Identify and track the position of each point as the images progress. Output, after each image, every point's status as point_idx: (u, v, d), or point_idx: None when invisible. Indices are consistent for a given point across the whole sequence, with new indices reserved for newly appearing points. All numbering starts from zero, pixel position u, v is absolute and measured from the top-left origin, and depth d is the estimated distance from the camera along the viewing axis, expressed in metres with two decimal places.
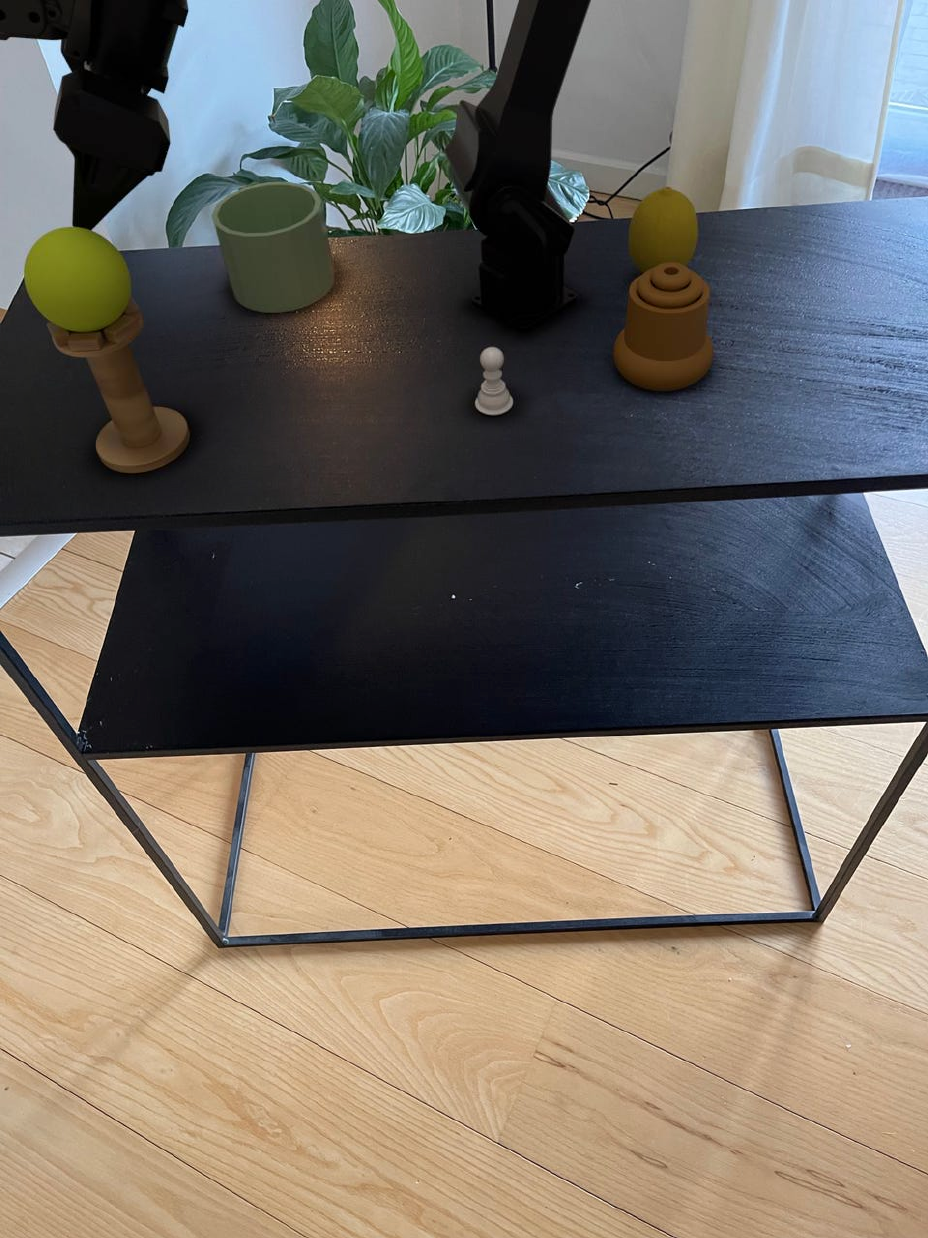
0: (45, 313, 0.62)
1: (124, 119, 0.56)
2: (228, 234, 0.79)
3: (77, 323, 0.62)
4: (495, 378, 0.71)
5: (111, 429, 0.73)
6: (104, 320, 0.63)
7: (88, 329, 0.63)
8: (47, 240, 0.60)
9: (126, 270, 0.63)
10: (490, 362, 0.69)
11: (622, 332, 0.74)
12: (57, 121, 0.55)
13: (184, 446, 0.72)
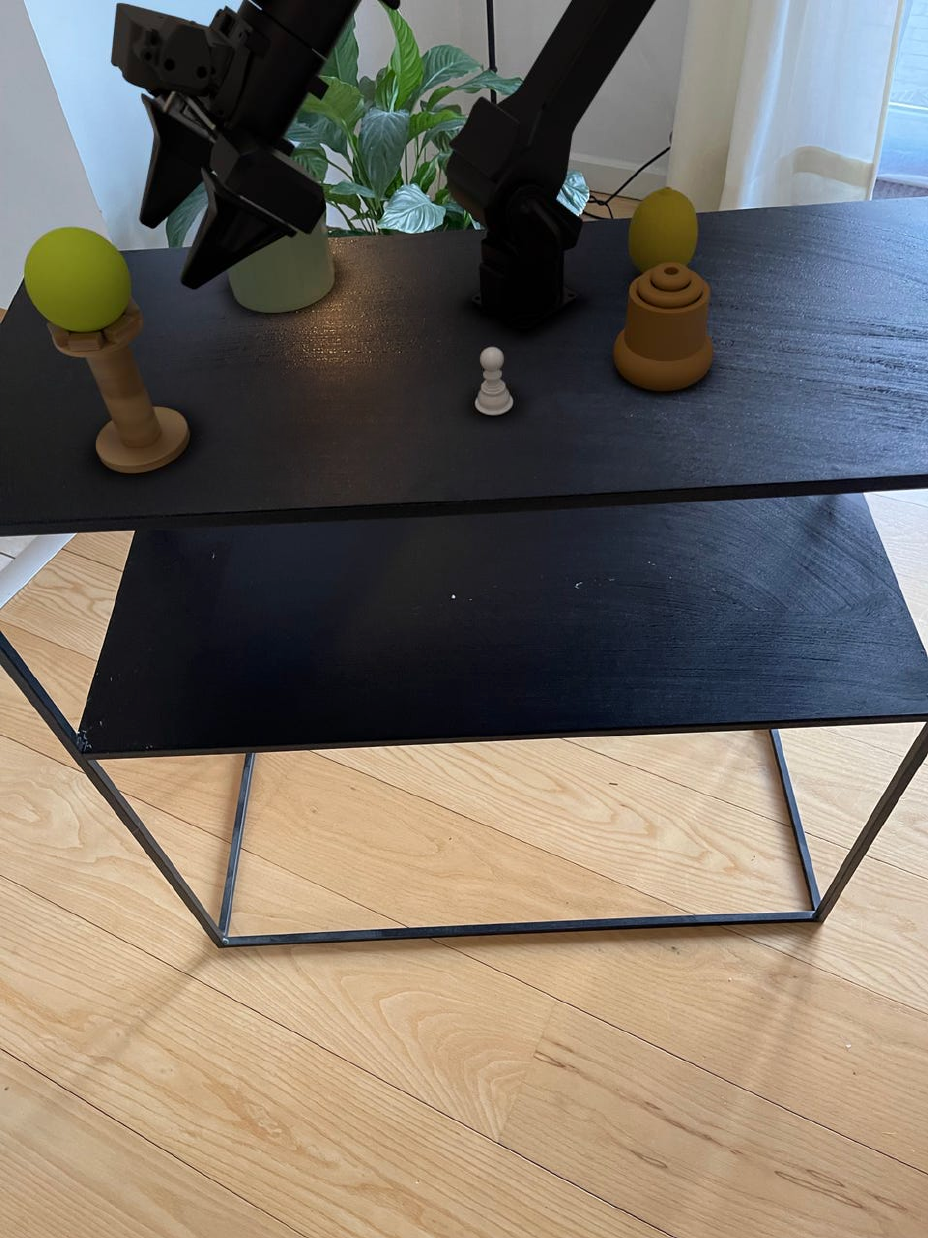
0: (45, 313, 0.62)
1: (296, 180, 0.56)
2: None
3: (77, 323, 0.62)
4: (495, 378, 0.71)
5: (111, 429, 0.73)
6: (104, 320, 0.63)
7: (88, 329, 0.63)
8: (47, 240, 0.60)
9: (126, 270, 0.63)
10: (490, 362, 0.69)
11: (622, 332, 0.74)
12: (231, 176, 0.54)
13: (184, 446, 0.72)
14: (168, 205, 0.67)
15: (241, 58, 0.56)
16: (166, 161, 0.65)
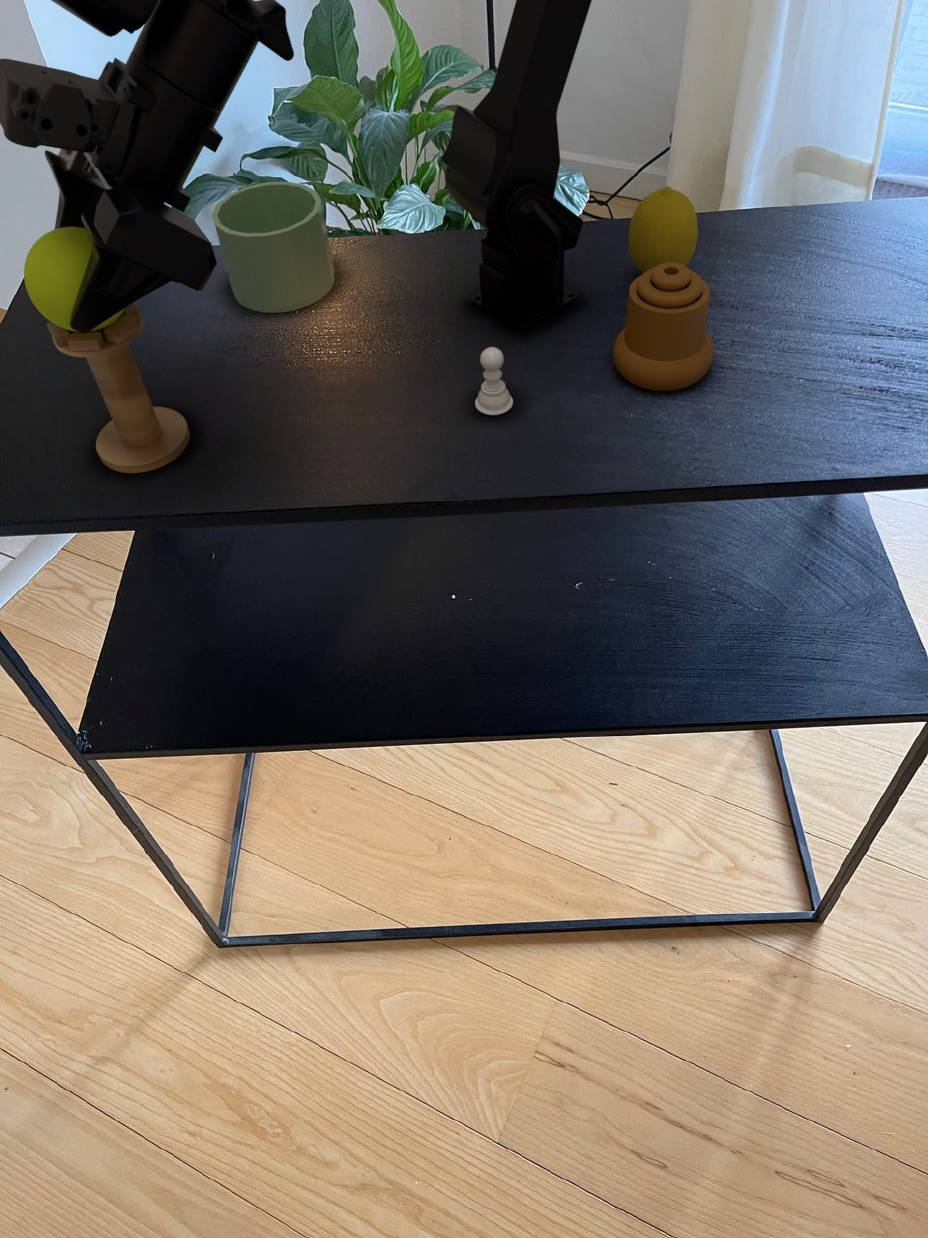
0: (45, 313, 0.62)
1: (181, 239, 0.55)
2: (228, 234, 0.79)
3: None
4: (495, 378, 0.71)
5: (111, 429, 0.73)
6: None
7: None
8: (47, 240, 0.60)
9: None
10: (490, 362, 0.69)
11: (622, 332, 0.74)
12: (112, 236, 0.53)
13: (184, 446, 0.72)
14: None
15: (126, 113, 0.56)
16: (72, 219, 0.64)
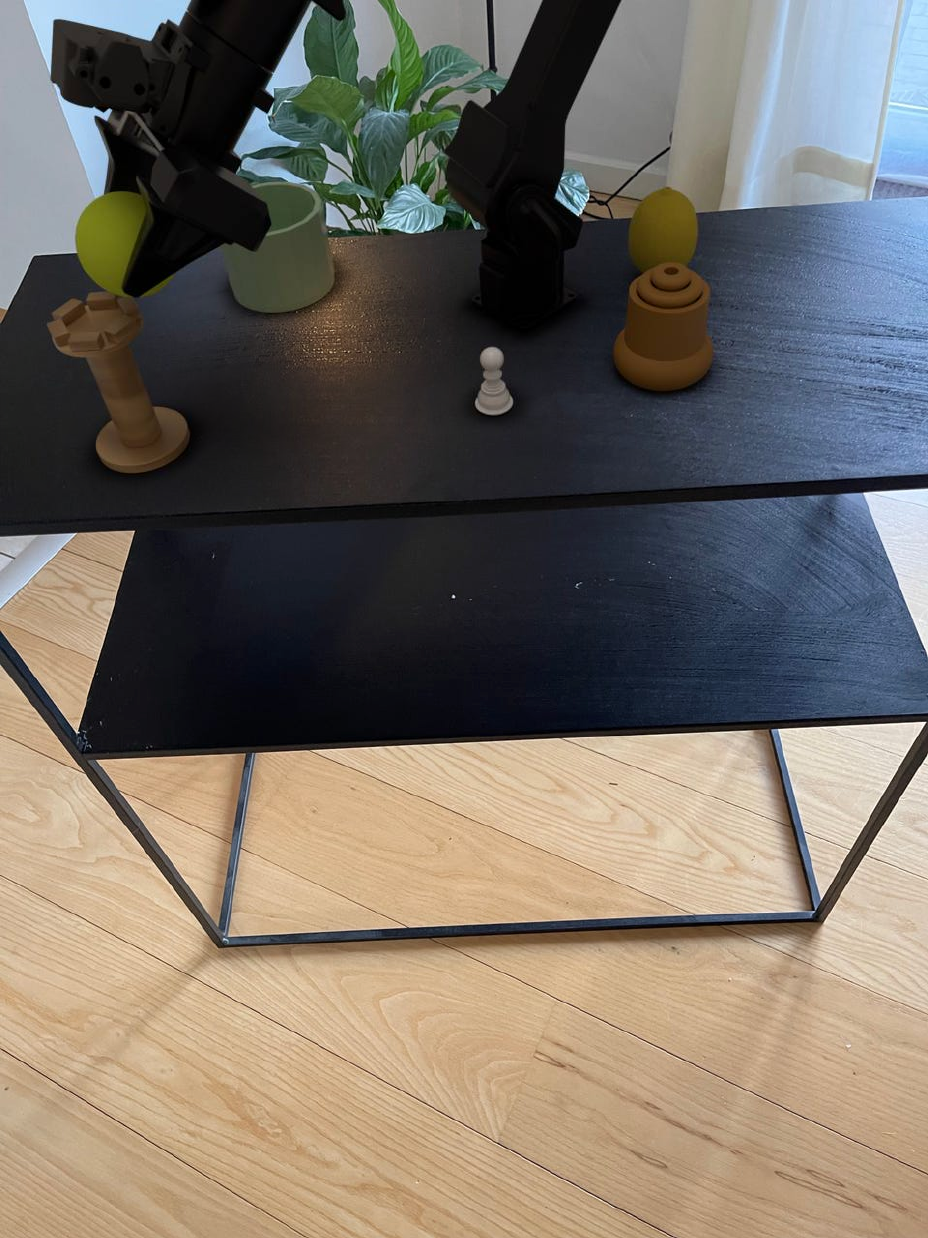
0: (96, 278, 0.62)
1: (238, 198, 0.55)
2: None
3: None
4: (495, 378, 0.71)
5: (111, 429, 0.73)
6: None
7: None
8: (99, 204, 0.60)
9: None
10: (490, 362, 0.69)
11: (622, 332, 0.74)
12: (171, 194, 0.53)
13: (184, 446, 0.72)
14: None
15: (182, 73, 0.55)
16: (121, 184, 0.64)
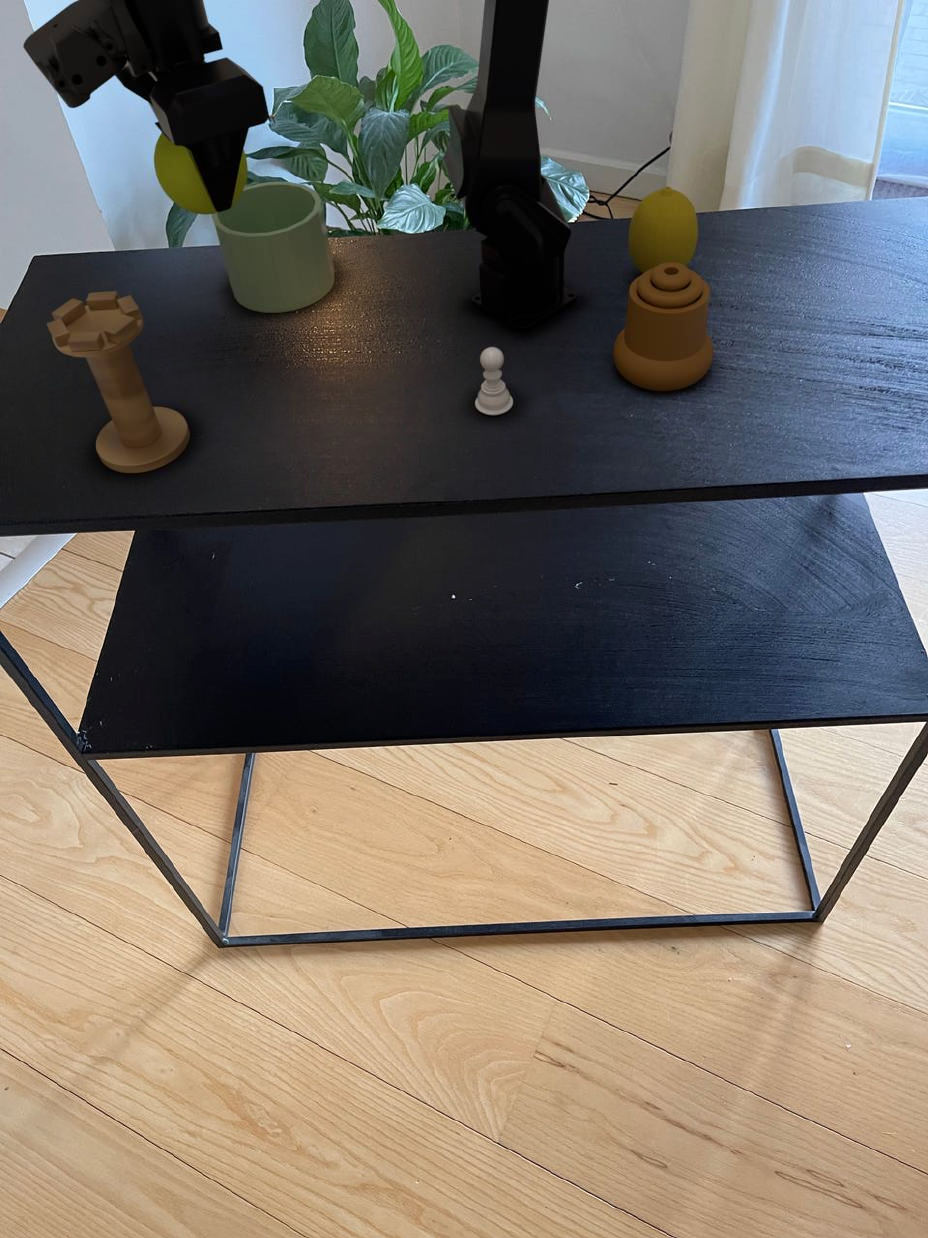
0: (197, 212, 0.70)
1: (220, 93, 0.58)
2: (228, 234, 0.79)
3: None
4: (495, 378, 0.71)
5: (111, 429, 0.73)
6: (236, 186, 0.69)
7: None
8: (157, 154, 0.67)
9: None
10: (490, 362, 0.69)
11: (622, 332, 0.74)
12: (174, 135, 0.59)
13: (184, 446, 0.72)
14: None
15: (121, 10, 0.59)
16: None
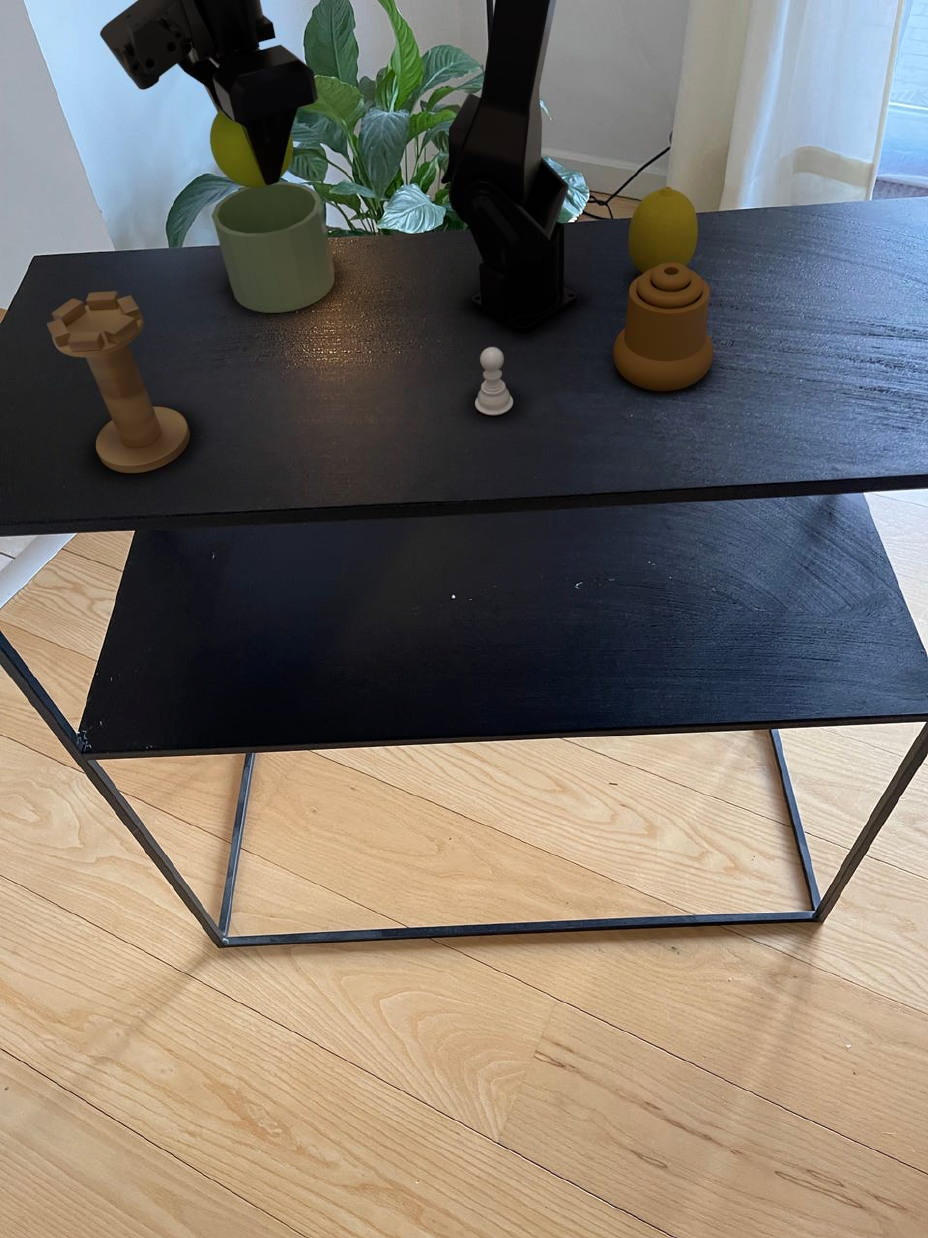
0: (248, 185, 0.77)
1: (276, 76, 0.66)
2: (228, 234, 0.79)
3: None
4: (495, 378, 0.71)
5: (111, 429, 0.73)
6: (283, 162, 0.76)
7: None
8: (214, 133, 0.75)
9: None
10: (490, 362, 0.69)
11: (622, 332, 0.74)
12: (235, 113, 0.66)
13: (184, 446, 0.72)
14: None
15: (189, 3, 0.66)
16: None
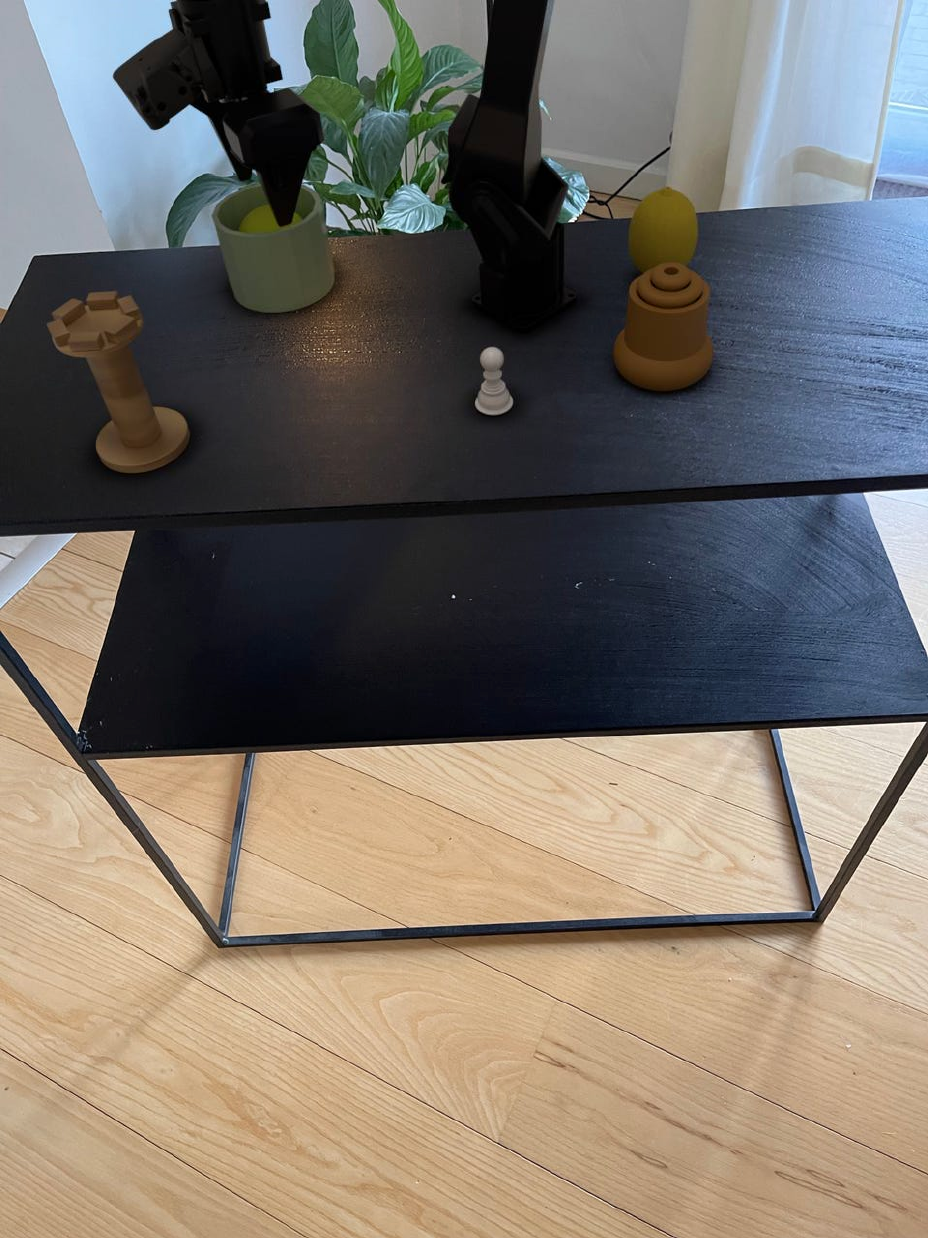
0: None
1: (284, 119, 0.68)
2: (228, 234, 0.79)
3: None
4: (495, 378, 0.71)
5: (111, 429, 0.73)
6: None
7: None
8: None
9: (295, 218, 0.81)
10: (490, 362, 0.69)
11: (622, 332, 0.74)
12: (244, 155, 0.68)
13: (184, 446, 0.72)
14: None
15: (199, 48, 0.68)
16: (223, 127, 0.80)
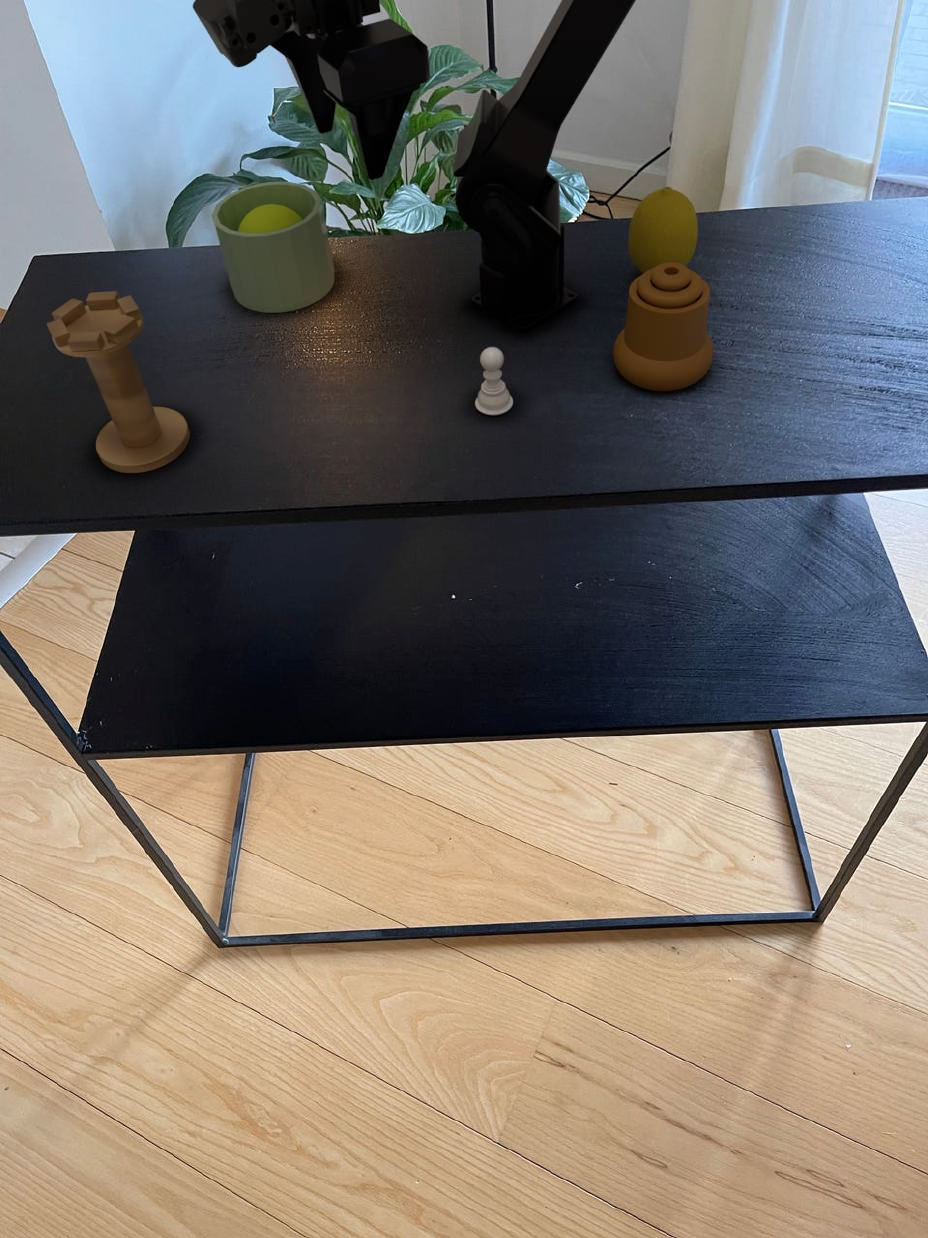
0: None
1: (389, 51, 0.60)
2: (228, 234, 0.79)
3: None
4: (495, 378, 0.71)
5: (111, 429, 0.73)
6: None
7: None
8: None
9: (294, 217, 0.82)
10: (490, 362, 0.69)
11: (622, 332, 0.74)
12: (343, 92, 0.61)
13: (184, 446, 0.72)
14: (329, 102, 0.74)
15: None
16: (305, 72, 0.72)
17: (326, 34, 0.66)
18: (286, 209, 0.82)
